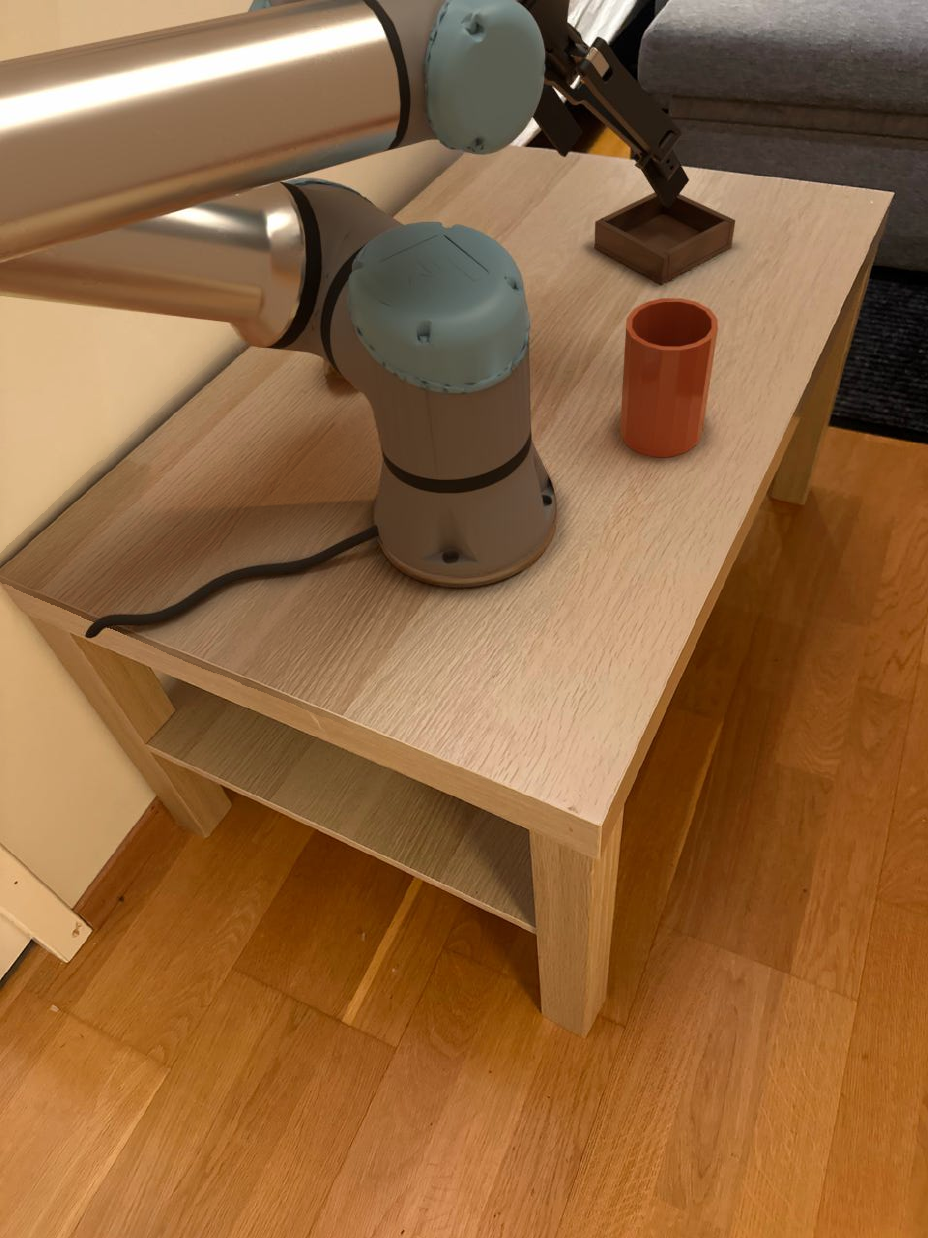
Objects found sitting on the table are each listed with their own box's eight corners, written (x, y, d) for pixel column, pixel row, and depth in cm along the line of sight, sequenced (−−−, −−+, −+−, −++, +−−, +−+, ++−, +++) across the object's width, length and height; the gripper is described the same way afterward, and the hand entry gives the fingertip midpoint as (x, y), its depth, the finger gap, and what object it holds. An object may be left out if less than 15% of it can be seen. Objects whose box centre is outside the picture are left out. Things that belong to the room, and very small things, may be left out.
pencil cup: (659, 468, 77) (671, 361, 69) (603, 428, 81) (607, 322, 73) (718, 431, 80) (737, 323, 71) (661, 394, 84) (672, 287, 75)
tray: (661, 284, 95) (663, 257, 92) (594, 247, 101) (594, 221, 98) (731, 247, 98) (735, 219, 96) (663, 213, 104) (665, 186, 101)
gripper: (660, -34, 55) (756, 175, 72) (430, -99, 69) (556, 90, 86) (584, 76, 57) (696, 255, 74) (373, -9, 70) (509, 159, 88)
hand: (621, 167), depth 80 cm, fingers open, 13 cm apart
